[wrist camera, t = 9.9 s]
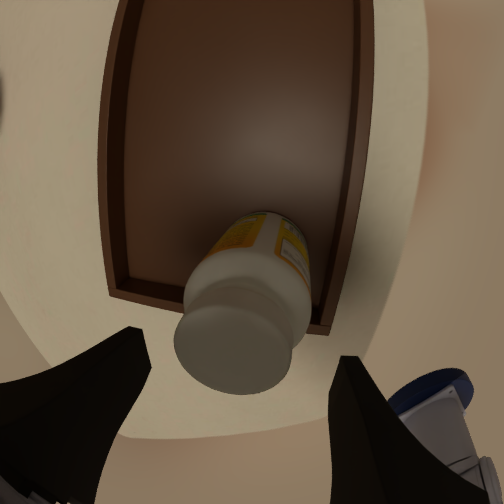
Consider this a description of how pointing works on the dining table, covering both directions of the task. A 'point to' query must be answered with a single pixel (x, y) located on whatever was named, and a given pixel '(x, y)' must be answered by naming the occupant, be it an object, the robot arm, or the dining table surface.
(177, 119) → the tray
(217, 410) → the dining table surface
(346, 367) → the robot arm
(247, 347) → the supplement bottle
